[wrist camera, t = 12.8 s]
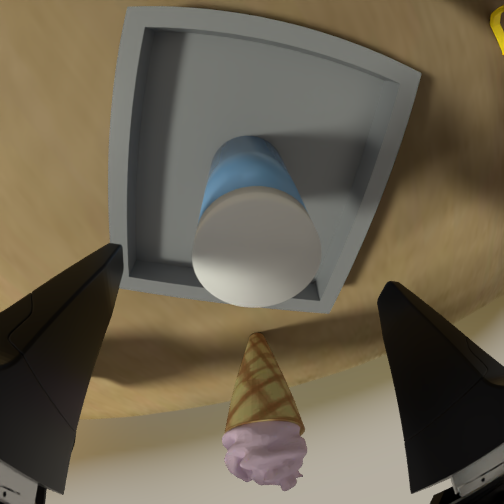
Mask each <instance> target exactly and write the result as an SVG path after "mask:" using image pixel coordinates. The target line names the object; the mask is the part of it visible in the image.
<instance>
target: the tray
mask: <svg viewBox="0 0 504 504" xmlns="http://www.w3.org/2000/svg"><path fill="white" fill-rule="evenodd" d="M421 74H422V73H420V72H418V71H416V70H414V69H412V68H410V67H408V66H406V65H404V64H402V63H400V62H398V61H396V60H393V59H391V58H389V57H387V56H384V55H382V54H380V53H377V52H375V51H373V50H370V49H368V48H365V47H363V46H360V45H357V44H355V43H352V42H349V41H347V40H344V39H341V38H338V37H335V36H332V35H329V34H326V33H323V32H319V31H316V30H313V29H309V28H306V27H302V26H298V25H294V24H290V23H286V22H282V21H278V20H273V19H269V18H264V17H259V16H253V15H247V14H241V13H235V12H228V11H220V10H211V9H201V8H188V7H165V6H139V7H127V11H126V16H125V20H124V25H123V30H122V35H121V41H120V46H119V52H118V58H117V65H116V72H115V80H114V88H113V97H112V108H111V120H110V135H109V160H108V206H109V231H110V243H115V244H121V245H122V247H123V262H124V270H123V275H122V279H121V282H120V286H119V288H121V289H127V290H133V291H140V292H146V293H152V294H159V295H166V296H172V297H179V298H187V299H194V300H201V301H209V302H217V303H225V304H230V303H227V302H224V301H222V300H220V299H218V298H217V297H215V296H214V295H212V294H211V293H210V292H209V291H207V290H206V289H205V288H204V286H203V285H202V284H201V283H200V281H199V280H198V278H197V276H196V274H195V271H194V268H193V263H192V250H193V245H194V240H195V235H196V230H197V225H198V221H199V216H200V211H201V207H202V202H203V197H204V193H205V189H206V184H207V180H208V176H209V171H210V167H211V163H212V159H213V157H214V155H215V153H216V152H217V150H218V149H219V148H220V147H221V146H222V145H223V144H224V143H226V142H227V141H229V140H231V139H233V138H236V137H239V136H256V137H259V138H262V139H264V140H266V141H268V142H269V143H271V144H272V145H273V146H274V147H275V148H276V149H277V151H278V152H279V154H280V156H281V158H282V160H283V162H284V164H285V166H286V168H287V170H288V172H289V174H290V176H291V178H292V180H293V182H294V184H295V186H296V188H297V190H298V192H299V194H300V196H301V199H302V201H303V203H304V205H305V207H306V209H307V211H308V213H309V216H310V218H311V220H312V222H313V224H314V227H315V229H316V231H317V233H318V236H319V239H320V242H321V249H322V252H321V262H320V265H319V268H318V270H317V273H316V275H315V276H314V278H313V279H312V281H311V282H310V283H309V284H308V285H307V287H305V288H304V289H303V290H302V291H301V292H300V293H298V294H297V295H296V296H294V297H292V298H290V299H288V300H286V301H284V302H282V303H279V304H276V305H271V306H266V307H261V308H270V309H281V310H291V311H303V312H315V313H327V314H329V313H330V311H331V309H332V307H333V305H334V303H335V301H336V299H337V297H338V295H339V293H340V291H341V289H342V286H343V284H344V282H345V280H346V278H347V276H348V274H349V272H350V270H351V267H352V265H353V263H354V261H355V259H356V256H357V254H358V252H359V250H360V247H361V245H362V243H363V241H364V238H365V236H366V234H367V231H368V229H369V227H370V224H371V222H372V219H373V217H374V214H375V212H376V210H377V207H378V205H379V202H380V199H381V197H382V194H383V192H384V189H385V186H386V184H387V181H388V178H389V176H390V173H391V170H392V168H393V165H394V162H395V159H396V156H397V153H398V150H399V147H400V145H401V142H402V139H403V135H404V132H405V129H406V126H407V123H408V120H409V116H410V113H411V110H412V106H413V103H414V100H415V96H416V92H417V89H418V85H419V81H420V78H421Z"/></svg>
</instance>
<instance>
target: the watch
mask: <svg viewBox="0 0 504 504" xmlns="http://www.w3.org/2000/svg"><path fill="white" fill-rule="evenodd" d="M502 12H504V5H503V6H501V7H499V8H497V9H496V10H495V11H494V12H492V14H491V17H490V26H491V28H492V30H493V32H494V35H495V37H496V39H497V41H498V43H499V46H500V48H501V50H502V55H504V31H503V29H502V27H501V25H500V18H501V13H502Z"/></svg>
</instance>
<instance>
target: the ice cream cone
mask: <svg viewBox="0 0 504 504" xmlns="http://www.w3.org/2000/svg"><path fill="white" fill-rule="evenodd" d="M304 431H305V428H304V425H303V422H302V420H301V417H300V414H299V412H298V409H297V406H296V404H295V401H294V399H293V396H292V394H291V392H290V389H289V387H288V385H287V382H286V380H285V378H284V376H283V374H282V372H281V370H280V368H279V365H278V363H277V361H276V359H275V357H274V355H273V353H272V351H271V349H270V347H269V345H268V343H267V341H266V339H265V337H264V335H263V334H261V333H253V334H252V335H250V337H249V340H248V344H247V347H246V350H245V353H244V356H243V360H242V363H241V366H240V369H239V373H238V376H237V380H236V383H235V387H234V391H233V395H232V399H231V403H230V408H229V413H228V418H227V423H226V428H225V434H224V435H223V437H222V442H223V446H224V447H225V448H227V450H228V451H227V453H226V455H225V458H224V459H225V463H226V466H227V468H228V470H229V471H230V472H231V473H232V474H234V475H235V476H236V477H238V478H240V479H242V480H243V481H245V482H249V481H251V480H254V481H255V482H256V483H258V484H259V485H281V488H282V490H283V491H287V490H289V489H291V488H292V487H294V486H295V485H296V483H297V480H296V478H298V477H303V475H302V474H300V473H299V471H298V470H299V468H300V467H301V466H302V464H303V458H304V456H305V455H306V453H307V446H306V443H305V439H304V438H302V437H301V435H302V434H303V433H304Z"/></svg>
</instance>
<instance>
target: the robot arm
mask: <svg viewBox="0 0 504 504" xmlns="http://www.w3.org/2000/svg"><path fill="white" fill-rule="evenodd" d="M123 270H124V262H123V247H122V245H121V244H115V243H109V244H107V245H105V246H103V247H102V248H100V249H98V250H97V251H95V252H93V253H92V254H90V255H88V256H87V257H85V258H83V259H82V260H80V261H79V262H77V263H75V264H74V265H72V266H71V267H69V268H67V269H66V270H64V271H63V272H61V273H60V274H58V275H57V276H55V277H53V278H52V279H50V280H49V281H47V282H46V283H44V284H43V285H41V286H40V287H38V288H37V289H35V290H34V291H32V293H29V294H28V295H26V296H25V297H24V298H22V299H21V300H19V301H18V302H16V303H15V304H13V305H12V306H10V307H9V308H7V309H5V310H4V311H2V312H0V504H45V498H46V489H49V490H52V491H54V492H57V493H60V494H62V495H63V494H64V490H65V483H66V478H67V472H68V467H69V461H70V457H71V452H72V450H73V447H74V443H75V437H76V430H77V425H78V421H79V418H80V414H81V410H82V406H83V403H84V399H85V395H86V392H87V388H88V385H89V382H90V378H91V375H92V372H93V369H94V366H95V362H96V359H97V356H98V353H99V350H100V347H101V344H102V341H103V339H104V336H105V333H106V330H107V327H108V325H109V322H110V319H111V316H112V313H113V309H114V305H115V301H116V297H117V294H118V290H119V286H120V282H121V279H122V275H123ZM377 305H378V311H379V316H380V322H381V328H382V335H383V340H384V344H385V348H386V352H387V357H388V361H389V365H390V369H391V374H392V378H393V383H394V387H395V392H396V397H397V402H398V407H399V413H400V418H401V424H402V430H403V436H404V441H405V450H406V457H407V464H408V473H409V482H410V490H411V494H413V493H415V492H418V491H421V490H423V489H426V488H428V487H431V486H433V485H436V484H438V483H440V482H442V481H445V480H447V479H449V478H451V482H452V485H453V487H451V488H449V489H446V490H444V491H442V492H440V493H438V494H436V495H434V496H433V498H432V500H431V502H430V504H504V366H502V365H501V364H500V363H499V362H497V361H496V360H495V359H493V358H492V357H491V356H490V355H489V354H487V353H486V352H485V351H483V350H482V349H481V348H479V346H477V345H476V344H475V343H474V342H473V341H471V340H470V339H469V338H468V337H466V336H465V335H464V334H463V333H462V332H461V331H459V330H458V329H457V328H456V327H455V326H453V325H452V324H451V323H450V322H449V321H447V320H446V319H445V318H444V317H443V316H441V315H440V314H439V313H438V312H436V311H435V310H434V309H433V308H431V307H430V306H429V305H428V304H426V303H425V302H424V301H422V300H421V299H420V298H419V297H417V296H416V295H415V294H414V293H412V292H411V291H410V290H408V289H407V288H406V287H404V286H403V285H402V284H400V283H399V282H394V281H389V282H387V283H386V285H385V287H384V289H383V290H382V292H381V294H380V296H379V298H378V301H377Z"/></svg>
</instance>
